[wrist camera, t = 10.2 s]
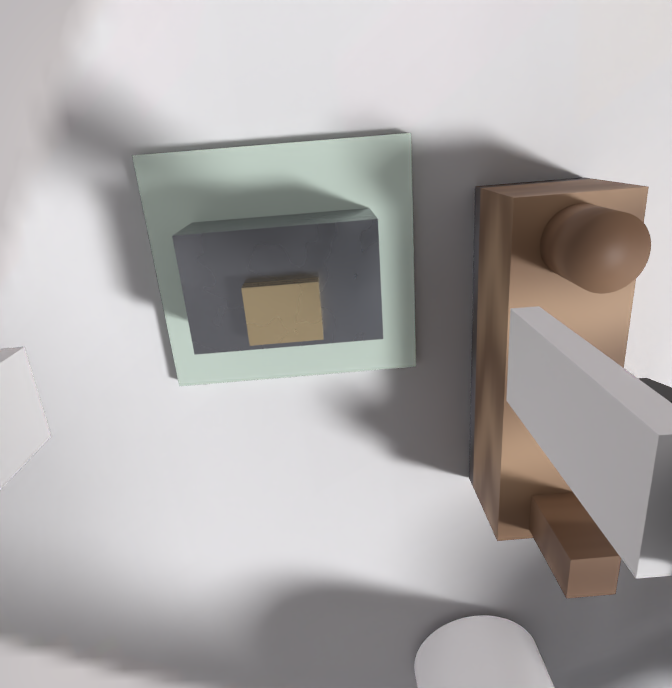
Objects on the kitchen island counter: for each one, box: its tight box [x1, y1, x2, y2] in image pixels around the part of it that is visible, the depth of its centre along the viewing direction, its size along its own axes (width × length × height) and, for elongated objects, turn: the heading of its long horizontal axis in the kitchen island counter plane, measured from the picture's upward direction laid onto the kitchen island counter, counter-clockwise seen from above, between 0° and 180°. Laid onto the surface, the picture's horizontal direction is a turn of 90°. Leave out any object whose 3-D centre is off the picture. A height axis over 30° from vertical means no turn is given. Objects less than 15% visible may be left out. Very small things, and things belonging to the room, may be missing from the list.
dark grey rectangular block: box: [172, 208, 383, 355], centre depth 22 cm, size 5×8×4 cm, turn 94°
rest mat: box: [132, 133, 416, 386], centre depth 25 cm, size 11×12×1 cm
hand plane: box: [469, 178, 651, 598], centre depth 23 cm, size 16×5×9 cm, turn 4°
